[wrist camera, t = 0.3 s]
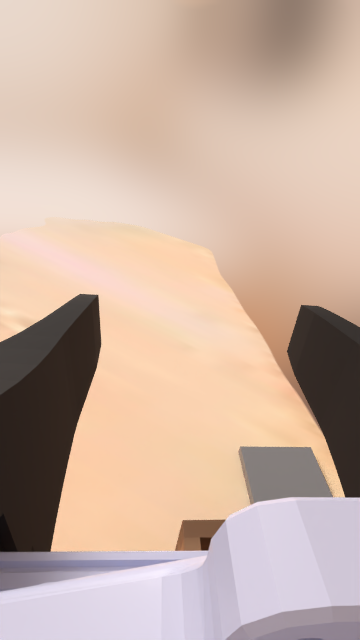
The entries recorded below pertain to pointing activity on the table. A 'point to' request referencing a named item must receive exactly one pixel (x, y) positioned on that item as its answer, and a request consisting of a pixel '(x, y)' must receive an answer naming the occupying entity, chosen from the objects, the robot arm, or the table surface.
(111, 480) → the table surface
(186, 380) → the table surface
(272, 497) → the coaster
